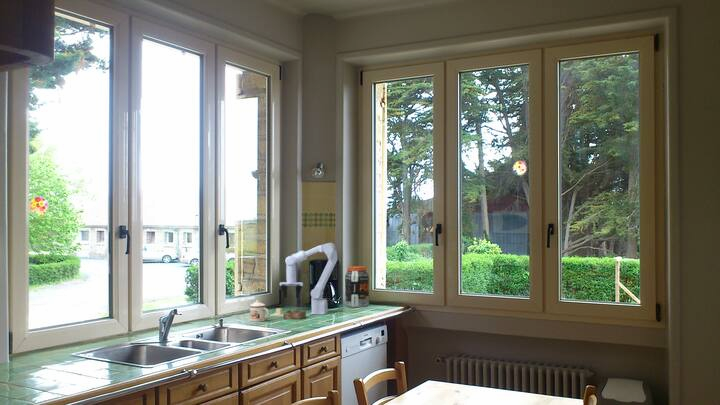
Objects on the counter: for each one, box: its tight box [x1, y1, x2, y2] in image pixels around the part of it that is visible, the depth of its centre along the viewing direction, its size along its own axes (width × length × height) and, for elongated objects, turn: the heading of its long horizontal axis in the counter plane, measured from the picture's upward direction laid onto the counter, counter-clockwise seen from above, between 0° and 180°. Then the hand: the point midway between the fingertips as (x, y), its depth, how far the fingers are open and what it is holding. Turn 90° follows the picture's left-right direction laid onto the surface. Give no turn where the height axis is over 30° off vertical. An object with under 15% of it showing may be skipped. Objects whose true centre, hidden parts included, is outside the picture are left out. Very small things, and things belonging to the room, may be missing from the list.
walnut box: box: [283, 309, 307, 320], centre depth 383 cm, size 10×10×4 cm
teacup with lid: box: [249, 299, 270, 323], centre depth 375 cm, size 12×9×12 cm
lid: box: [269, 308, 284, 318], centre depth 393 cm, size 8×8×4 cm
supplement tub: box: [344, 265, 370, 308], centre depth 433 cm, size 16×16×26 cm
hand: (291, 297), depth 402 cm, fingers open, 7 cm apart
